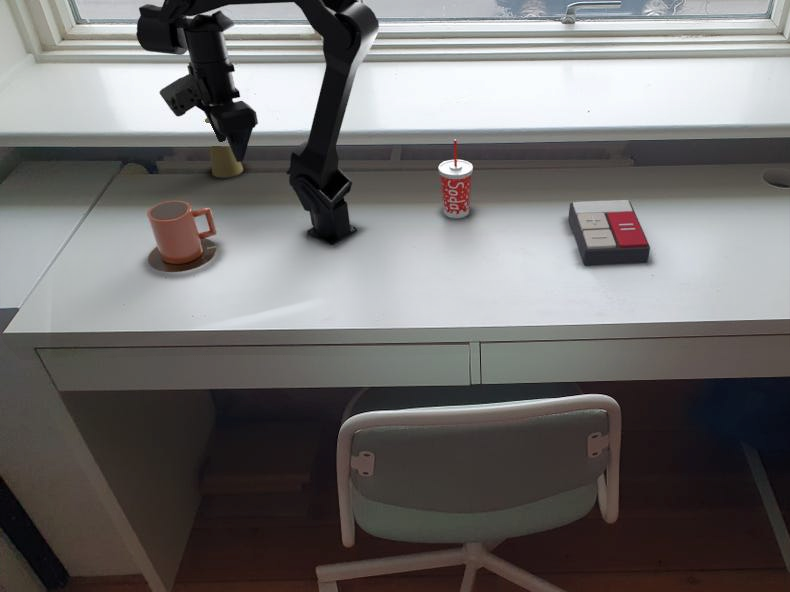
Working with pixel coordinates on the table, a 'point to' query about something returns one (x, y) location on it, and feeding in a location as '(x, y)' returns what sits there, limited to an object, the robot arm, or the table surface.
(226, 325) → the table surface
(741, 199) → the table surface
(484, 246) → the table surface
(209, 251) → the coaster
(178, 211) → the mug
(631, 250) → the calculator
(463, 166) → the beverage cup
